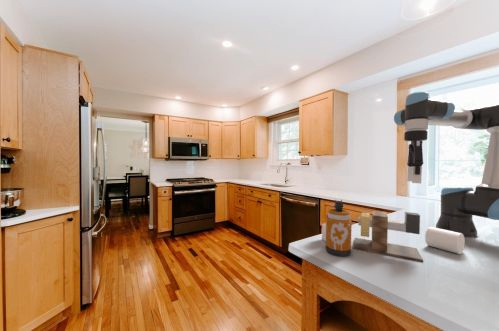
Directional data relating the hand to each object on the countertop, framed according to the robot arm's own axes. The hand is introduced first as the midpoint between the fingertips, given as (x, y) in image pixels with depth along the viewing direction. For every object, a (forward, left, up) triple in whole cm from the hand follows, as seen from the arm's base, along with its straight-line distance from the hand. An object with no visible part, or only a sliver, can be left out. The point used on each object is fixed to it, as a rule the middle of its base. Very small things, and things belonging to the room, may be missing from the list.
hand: (413, 182), depth 87 cm
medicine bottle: (+29, +11, -27) cm, 41 cm away
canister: (+26, +21, -27) cm, 43 cm away
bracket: (+10, +9, -27) cm, 30 cm away
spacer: (+17, +9, -18) cm, 26 cm away
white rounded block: (-12, -6, -27) cm, 30 cm away
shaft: (+10, +9, -18) cm, 23 cm away
